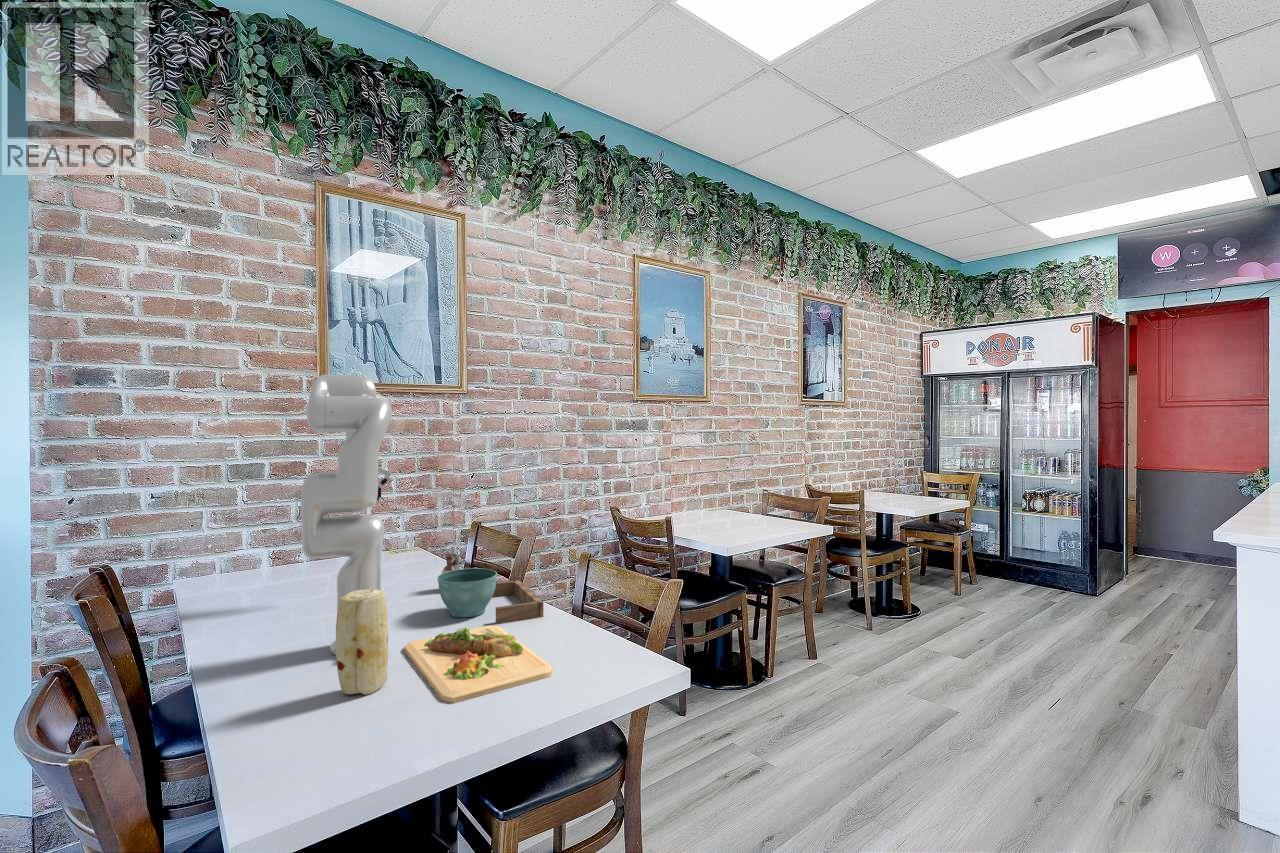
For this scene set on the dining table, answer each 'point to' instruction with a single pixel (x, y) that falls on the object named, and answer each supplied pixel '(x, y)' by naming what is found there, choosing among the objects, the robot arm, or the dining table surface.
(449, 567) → the figurine
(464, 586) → the flower pot
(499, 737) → the dining table surface
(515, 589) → the walnut bay
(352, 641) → the food model
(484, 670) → the cutting board
